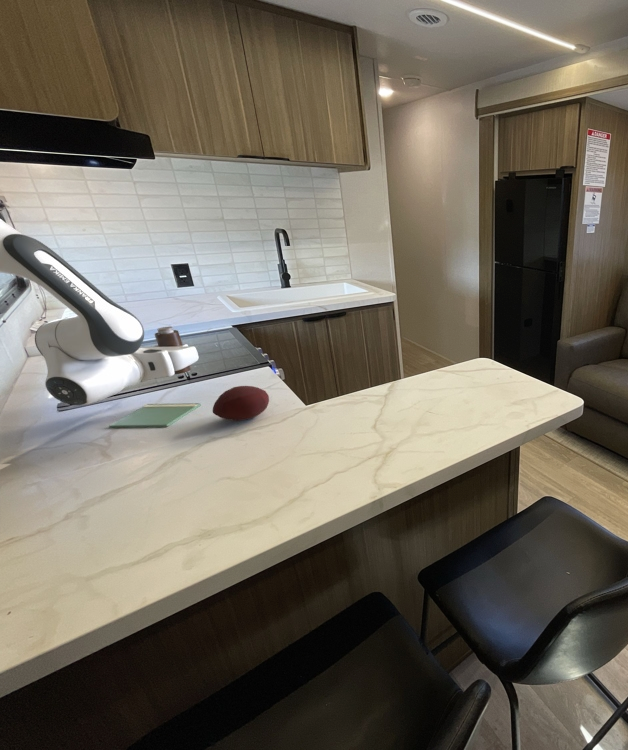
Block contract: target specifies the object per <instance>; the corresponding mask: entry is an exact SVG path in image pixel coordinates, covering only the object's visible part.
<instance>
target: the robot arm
mask: <svg viewBox="0 0 628 750" xmlns="http://www.w3.org/2000/svg"><path fill="white" fill-rule="evenodd" d="M1 273H2V274H6V275H12V276H16V277H20V278H23V279H26V280H28V281H31V282H33V283H35V284H37V285H38V286H40V287H41V288H43V289H44V290H45V291H46V292H48V293H49V294H50V295H51V296H52V297H54V298H55V299H56V300H58V301H59V302H60V303H61V304H62V305H64V306H65V307H66V308H68V309H69V310H70V311H72V312H73V313H74V314H75V315H73V316H67V317H63V318H59V319H55V320H52V321H46V322H44V323H43V324H41V325H40V326H39V327H38V328H37V329H36V332H35V334H34V344H35V347H36V348H37V350H38V352H39V353H40V355H41V356H42V357H43V359H44V361H45V364H46V369H47V375H46V377H45V381H44V384H45V385H44V386H45V388H46V390H47V392H48V393H49V395H51V396H52V397H53V398H54V399H56V400H58V401H59V402H61V403H64V404H67V405H71V406H86V405H90V404H94V403H97V402H100V401H103V400H104V399H108V398H110V397H113V396H114V395H116V394H118V393H120V392H121V391H122V390H123V389H125V388H132V387H134V386H136V385H138V384H141V383H145V382H148V381H152V380H158V379H164V378H170V377H173V376H174V375H176V374H175V372H174V371H178V370H181V369H183V368H185V367H187V366H190V365H193V364H195V363H196V362H197V361H199V353H198V350H197V348H196V346H193V345H188V343H187V344H183V343H182V345H179V346H177V347H158V344H156V345H154V346H142V344H143V342H144V339H145V328H144V326H143V324H142V323H141V321H140V320H139V319H138V317H137V316H135V314H133V313H132V312H130V311H129V310H128V309H126V308H125V307H123V306H121V305H119V304H118V303H116V302H115V301H113V300H112V299H111V298H109V297H108V296H107V295H106V294H104V292H102V291H101V290H100V289H99V288H97V286H95V285H94V284H93V283H92V282H90V281H89V280H88V279H87V278H86V277H85V276H83V274H81V272H79V271H78V270H77V269H76V268H75V267H73V266H72V265H71V264H70V263H69V262H68V261H66V260H65V259H64V258H62V257H61V256H60V255H59V254H57V253H56V252H55V251H54V250H53V249H51V248H50V247H49V246H48V245H46V244H45V243H43V242H41V241H39V240H38V239H36V238H34V237H31V236H29V235H26V234H24V233H22V232H20V231H19V230H17V229H16V228H14V227H12V226H11V225H10V224H8V223H7V222H6V221H5V220H3V219H1V218H0V274H1Z"/></svg>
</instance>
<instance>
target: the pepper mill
mask: <svg viewBox="0 0 628 750" xmlns="http://www.w3.org/2000/svg"><path fill="white" fill-rule="evenodd" d="M154 338H155V341H156V345H158V347H177V346H179V345H183V342H182V338H181V335H180V331H179V330H177V329H174V328H173V326H163V327H159V328H157V332H155V333H154ZM190 370H191V367H190V365H189V366H187V367H185V368H183V369H181V370H178V371H174V372H175V374H174V375H181V374H184V373H187V372H189V371H190Z"/></svg>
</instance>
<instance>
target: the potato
mask: <svg viewBox="0 0 628 750" xmlns="http://www.w3.org/2000/svg"><path fill="white" fill-rule="evenodd" d="M269 403H270V396H269V394H268V392H267V391H266V390H264V389H262V388H259V387H257V386H253V385H239V386H233V387H231V388H229V389H227V390H225V391H223V393H221V394H220V395H219V396H218V398H217V399H216V401H215V402H214V403H213V406H212V414H213V415H215V416H217V417H219V418H220V419H225V420H227V421H245V420H249V419H252V418H255V417H257V416H259V415H261V414H262V413H263V412H265V410H266V409H267V408H268V406H269Z"/></svg>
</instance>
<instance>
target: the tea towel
mask: <svg viewBox="0 0 628 750" xmlns="http://www.w3.org/2000/svg"><path fill="white" fill-rule="evenodd" d="M201 405H202V404H201V402H195V403H194V402H192V403H191V402H190V403H188V402H187V403H147V404H145V405H143V406H141V407H139V409H137V410H135V411H133V412H131V413H129V414H126V415H125V416H124V417H122V418H119V419H118V420H116V421H114V422H112V423H111V424H109V425H108V427H109V428H113V429H114V428H168V427H169V426H171V425H172V424H174V423H175V422H176V423H177V421H178V420H180V419H182V418H184V417H185V416H186V415H188V414H190V413H192V412H193V411H194V410H196V409H197V408H199V407H200V406H201Z"/></svg>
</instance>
